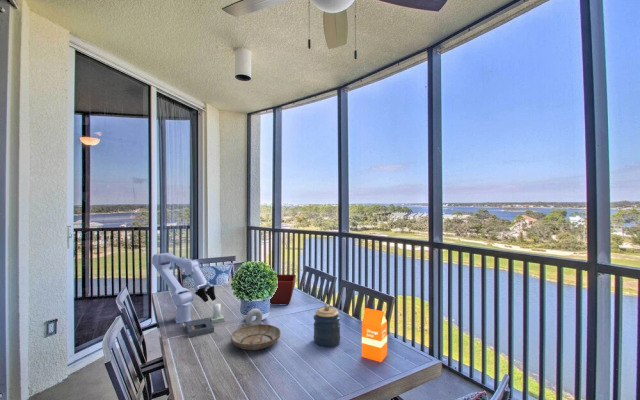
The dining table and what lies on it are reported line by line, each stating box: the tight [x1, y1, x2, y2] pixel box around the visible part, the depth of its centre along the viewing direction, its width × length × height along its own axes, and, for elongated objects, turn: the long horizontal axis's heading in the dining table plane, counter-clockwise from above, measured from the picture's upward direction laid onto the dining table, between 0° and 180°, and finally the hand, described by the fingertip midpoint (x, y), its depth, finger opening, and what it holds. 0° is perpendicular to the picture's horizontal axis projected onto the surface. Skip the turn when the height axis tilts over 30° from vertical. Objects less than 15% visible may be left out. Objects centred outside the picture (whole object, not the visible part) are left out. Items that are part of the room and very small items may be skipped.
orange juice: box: [361, 307, 388, 363], centre depth 131 cm, size 8×9×20 cm
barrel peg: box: [212, 303, 222, 318], centre depth 171 cm, size 4×4×7 cm
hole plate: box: [184, 317, 215, 338], centre depth 159 cm, size 16×12×3 cm
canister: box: [313, 304, 341, 348], centre depth 144 cm, size 13×13×18 cm
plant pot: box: [269, 274, 297, 305], centre depth 204 cm, size 19×19×17 cm
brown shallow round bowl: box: [230, 323, 281, 351], centre depth 143 cm, size 23×24×5 cm
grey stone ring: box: [245, 308, 263, 326], centre depth 162 cm, size 10×4×10 cm, turn 135°
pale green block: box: [208, 313, 225, 325], centre depth 171 cm, size 7×7×2 cm
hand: (210, 300), depth 163 cm, fingers open, 7 cm apart
